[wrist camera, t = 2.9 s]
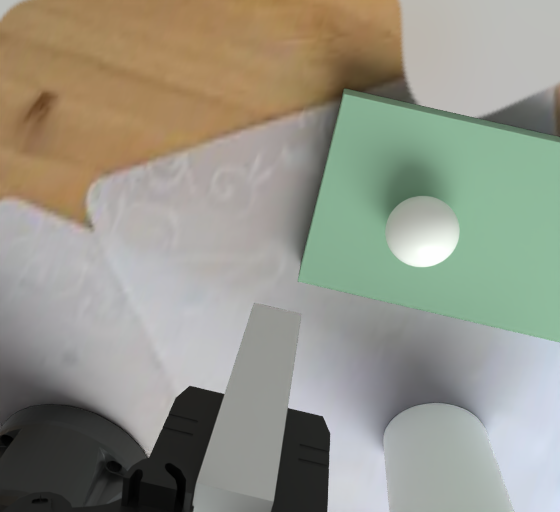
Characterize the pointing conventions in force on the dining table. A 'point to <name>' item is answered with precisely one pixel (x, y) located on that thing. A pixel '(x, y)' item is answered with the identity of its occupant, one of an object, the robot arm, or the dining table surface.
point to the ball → (422, 231)
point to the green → (458, 196)
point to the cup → (441, 462)
